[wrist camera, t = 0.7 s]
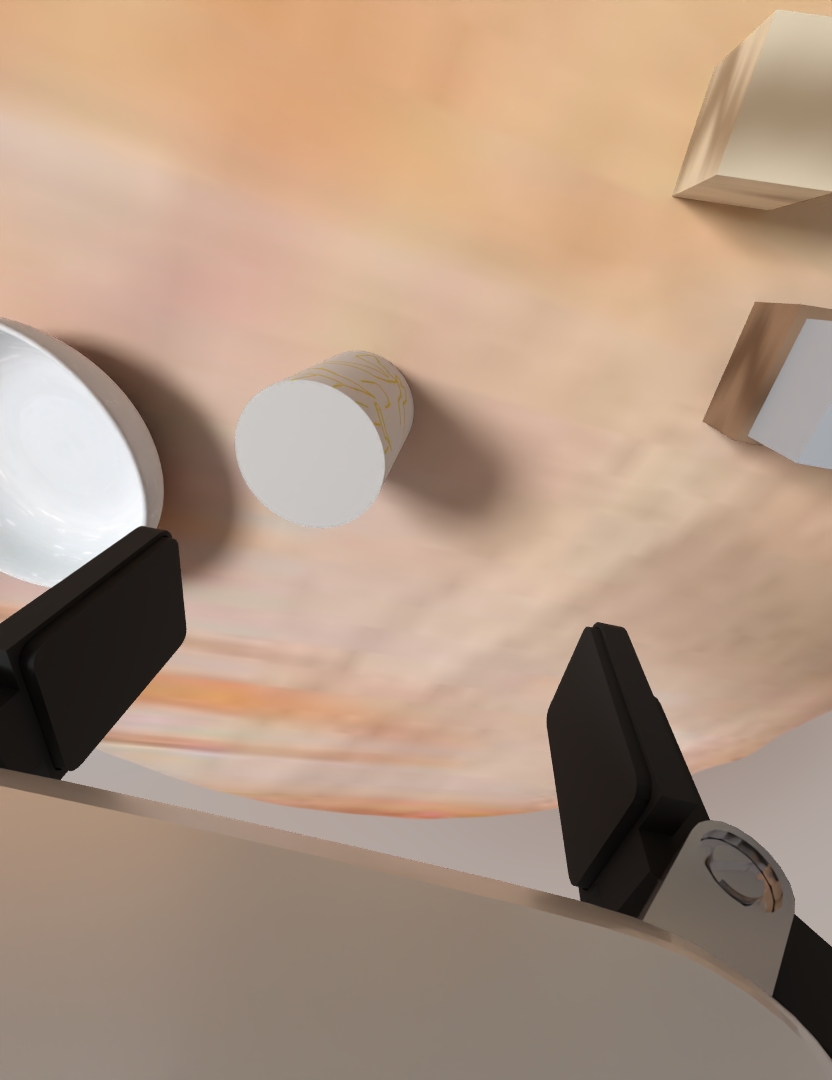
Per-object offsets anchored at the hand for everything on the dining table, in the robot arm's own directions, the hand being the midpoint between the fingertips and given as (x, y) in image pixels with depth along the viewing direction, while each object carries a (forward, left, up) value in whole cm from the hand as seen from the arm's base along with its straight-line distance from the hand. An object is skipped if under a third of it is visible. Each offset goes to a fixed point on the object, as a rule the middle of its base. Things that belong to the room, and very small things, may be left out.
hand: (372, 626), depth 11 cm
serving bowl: (+9, -30, -27) cm, 42 cm away
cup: (+2, -6, -27) cm, 28 cm away
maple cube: (-16, +14, -27) cm, 34 cm away
